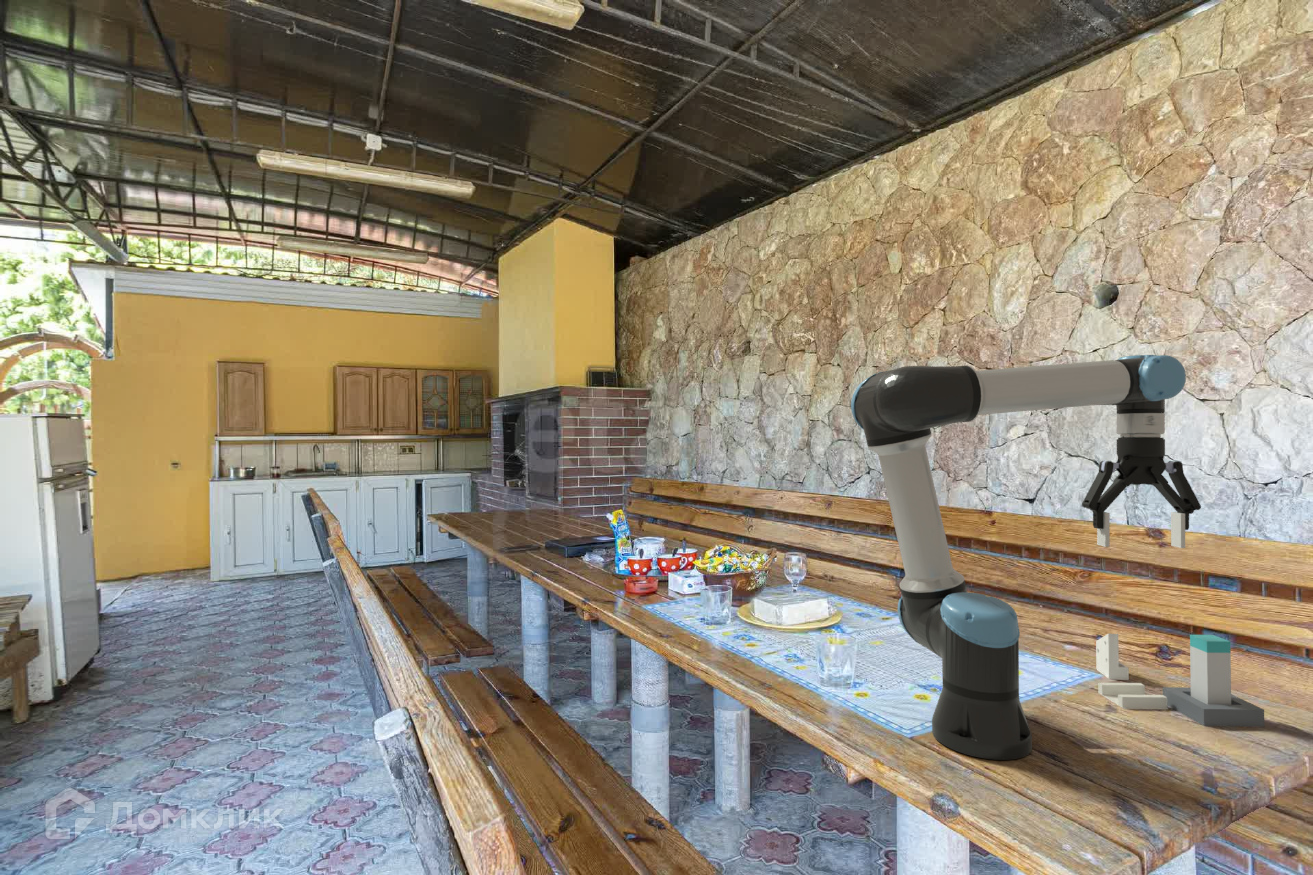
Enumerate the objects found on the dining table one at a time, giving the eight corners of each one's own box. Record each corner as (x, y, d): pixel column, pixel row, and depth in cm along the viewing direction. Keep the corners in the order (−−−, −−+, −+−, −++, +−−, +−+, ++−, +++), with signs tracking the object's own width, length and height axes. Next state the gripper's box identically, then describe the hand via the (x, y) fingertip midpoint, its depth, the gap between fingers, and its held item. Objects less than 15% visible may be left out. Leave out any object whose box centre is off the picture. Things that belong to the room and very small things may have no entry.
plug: (1207, 720, 117) (1206, 641, 117) (1190, 710, 121) (1189, 634, 121) (1231, 720, 117) (1230, 641, 117) (1213, 711, 121) (1212, 634, 121)
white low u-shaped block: (1123, 711, 122) (1123, 697, 122) (1097, 695, 130) (1097, 681, 130) (1168, 712, 121) (1168, 698, 121) (1139, 695, 129) (1139, 682, 129)
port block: (1203, 729, 114) (1203, 709, 114) (1161, 705, 124) (1160, 686, 124) (1266, 730, 114) (1266, 709, 114) (1218, 705, 124) (1218, 687, 124)
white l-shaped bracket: (1119, 677, 132) (1108, 633, 137) (1099, 686, 141) (1090, 644, 145) (1139, 678, 132) (1128, 634, 136) (1118, 687, 140) (1108, 645, 144)
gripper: (1083, 435, 124) (1083, 548, 124) (1224, 436, 122) (1224, 550, 122) (1062, 436, 132) (1062, 542, 132) (1195, 436, 130) (1195, 544, 130)
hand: (1140, 546), depth 127 cm, fingers open, 13 cm apart
